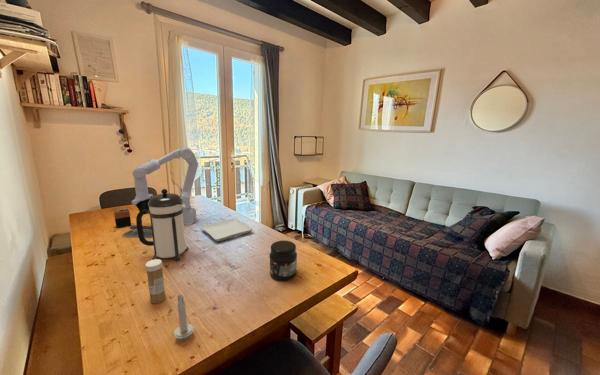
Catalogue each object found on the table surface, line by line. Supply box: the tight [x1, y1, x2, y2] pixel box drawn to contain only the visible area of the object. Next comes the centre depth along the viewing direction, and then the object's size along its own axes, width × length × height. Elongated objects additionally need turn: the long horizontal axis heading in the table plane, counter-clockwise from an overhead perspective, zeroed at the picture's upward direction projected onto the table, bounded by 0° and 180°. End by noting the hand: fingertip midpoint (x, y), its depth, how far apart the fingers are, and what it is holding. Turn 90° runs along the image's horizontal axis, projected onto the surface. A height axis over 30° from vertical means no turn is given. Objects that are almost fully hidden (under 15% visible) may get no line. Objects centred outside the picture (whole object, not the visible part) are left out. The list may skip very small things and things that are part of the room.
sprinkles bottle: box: [144, 258, 167, 304], centre depth 80 cm, size 5×5×13 cm
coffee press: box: [135, 188, 189, 262], centre depth 106 cm, size 17×16×30 cm
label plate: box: [121, 229, 153, 239], centre depth 133 cm, size 15×13×1 cm
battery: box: [113, 207, 132, 229], centre depth 139 cm, size 4×7×10 cm, turn 130°
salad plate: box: [200, 217, 254, 242], centre depth 135 cm, size 21×21×3 cm
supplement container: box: [269, 240, 298, 282], centre depth 96 cm, size 10×10×12 cm
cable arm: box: [129, 223, 152, 230], centre depth 132 cm, size 14×4×4 cm, turn 87°
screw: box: [173, 294, 195, 342], centre depth 66 cm, size 13×5×5 cm
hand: (144, 213), depth 137 cm, fingers open, 2 cm apart
